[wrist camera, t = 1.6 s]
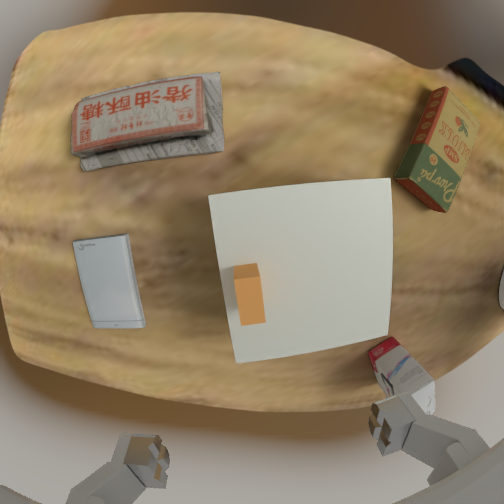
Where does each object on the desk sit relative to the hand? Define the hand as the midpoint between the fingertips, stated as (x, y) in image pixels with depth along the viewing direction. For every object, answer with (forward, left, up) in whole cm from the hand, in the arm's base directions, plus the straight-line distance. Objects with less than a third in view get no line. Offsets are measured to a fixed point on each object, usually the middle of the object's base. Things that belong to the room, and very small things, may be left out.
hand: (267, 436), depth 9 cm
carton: (-28, -11, -27) cm, 40 cm away
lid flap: (-6, +1, -18) cm, 19 cm away
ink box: (-20, +21, -26) cm, 39 cm away
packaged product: (+9, -18, -27) cm, 33 cm away
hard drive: (+18, +1, -27) cm, 32 cm away
